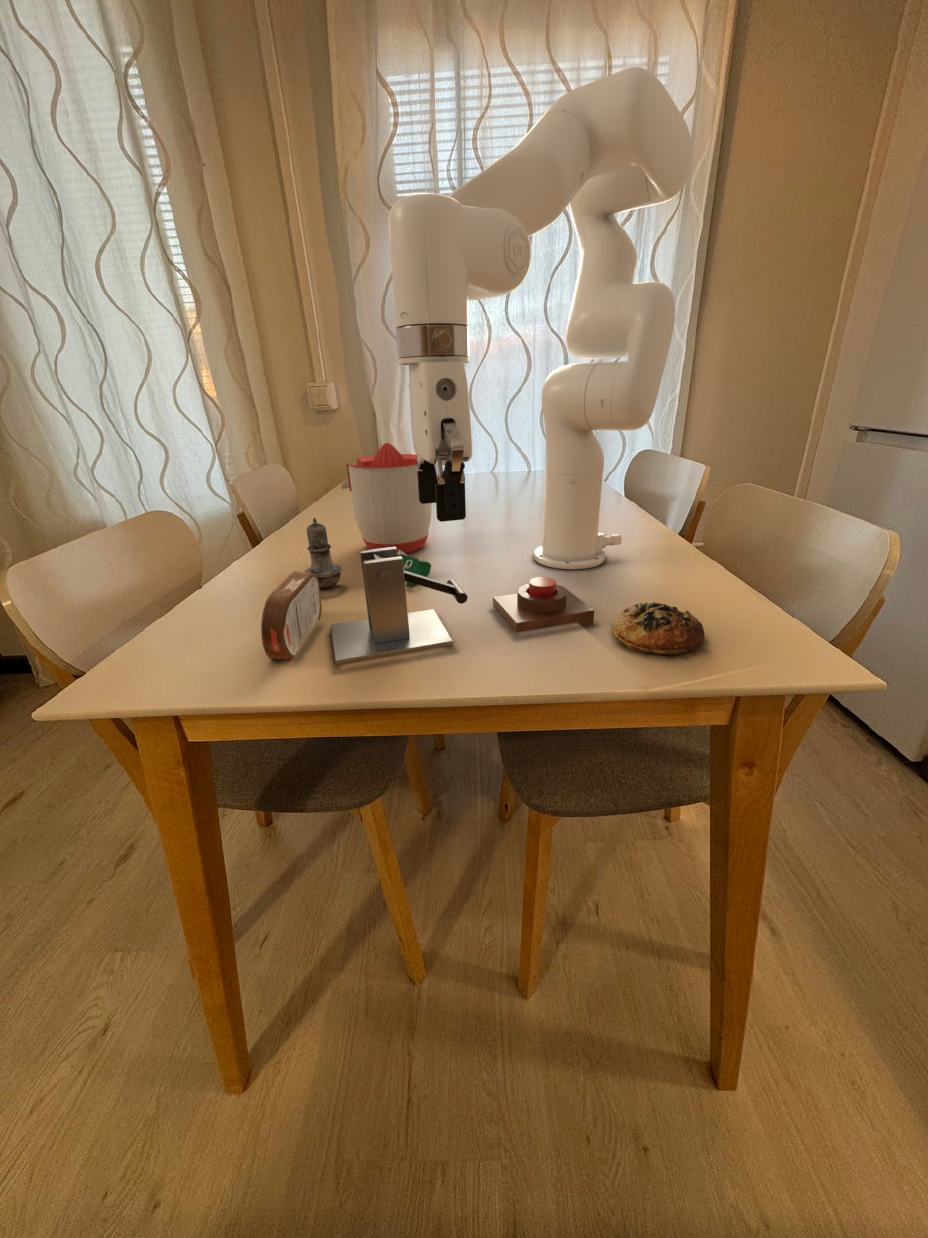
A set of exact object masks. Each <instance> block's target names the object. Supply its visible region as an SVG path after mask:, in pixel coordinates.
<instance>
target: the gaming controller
mask: <svg viewBox="0 0 928 1238" xmlns="http://www.w3.org/2000/svg"><path fill="white" fill-rule="evenodd" d="M397 556H398V557H400V556H401V557H402V559H403V568H404V570H405V571H408V572H411V573H414V574H418V575H421V576H424V577H429V575H430V573H431V569H432V564H431V562H430V561H429V560H428V559H427V558H426V557H423V556H422V555H420V557H419V558H417V557H414V556H410V555H408V553H404V552H402V551H400V550H398V553H397ZM415 586H416V587H417V586H418V585H417V584H413V583H410V582H407V581H406V583H405V587H412V588H413V587H415Z"/></svg>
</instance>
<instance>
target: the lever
mask: <svg viewBox="0 0 928 1238" xmlns="http://www.w3.org/2000/svg"><path fill="white" fill-rule="evenodd" d="M384 558H385V557H382V556H379V555H375V554H373V555H372V558H371V560H375V559H384ZM404 579H405V582H406V583H407V582H410V583H413V584H417V585H416V586H421V587H424V588H428V589H430V590H435V591H436V592H441V593H444V594H447V595H450V596H452V597H453V598H454V599H455V601H456V602H457V603H458V604H459V605H460V604H461V605H462V604H465V603H466V602H467V601H468V599H469V598H468V595H467V593H466V592H465V590H464V589H463V588H462V587H461V585H460V584H459V583H458V582H457V581H456V580H455V579H451V578H450V579H449V580H447V582H444V581H440V580H438V579H434V578H431V577H429V576H427V577H424V576H421V575H418V574H414V573H411V572H408V571H405V570H404Z"/></svg>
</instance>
